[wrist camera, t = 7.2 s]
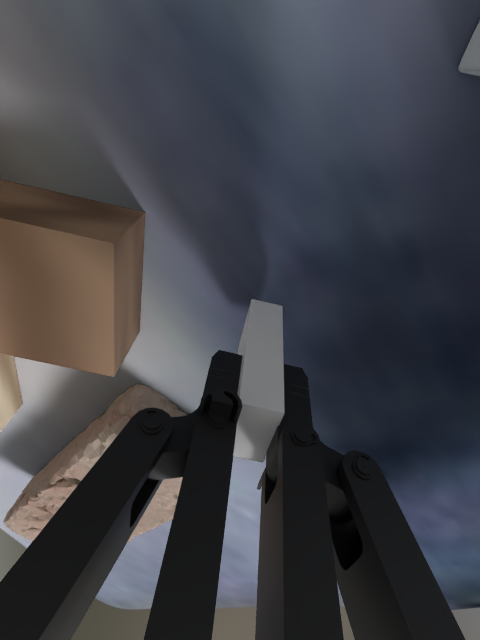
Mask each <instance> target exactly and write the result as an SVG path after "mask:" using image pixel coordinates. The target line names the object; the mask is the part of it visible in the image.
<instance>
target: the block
mask: <svg viewBox="0 0 480 640" xmlns="http://www.w3.org/2000/svg"><path fill="white" fill-rule="evenodd" d="M144 230H145V212H141V211H136V210H132V209H128V208H123V207H119V206H115V205H110V204H106V203H102V202H97V201H93V200H88V199H84V198H80V197H75V196H71V195H67V194H62V193H58V192H53V191H49V190H45V189H40V188H36V187H32V186H27V185H23V184H18V183H14V182H10V181H5V180H1V179H0V353H1V354H6V355H10V356H15V357H20V358H25V359H30V360H34V361H39V362H44V363H49V364H54V365H59V366H63V367H68V368H73V369H78V370H83V371H87V372H92V373H97V374H102V375H107V376H111V377H115V375H116V373H117V371H118V370H119V368H120V366H121V364H122V362H123V360H124V359H125V357H126V355H127V353H128V351H129V350H130V348H131V346H132V344H133V342H134V340H135V339H136V337H137V335H138V333H139V331H140V311H141V291H142V270H143V250H144Z"/></svg>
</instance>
